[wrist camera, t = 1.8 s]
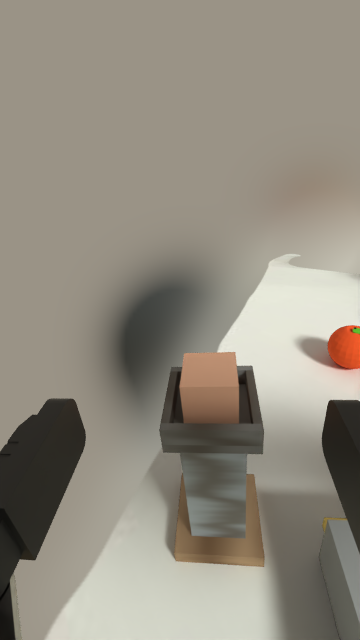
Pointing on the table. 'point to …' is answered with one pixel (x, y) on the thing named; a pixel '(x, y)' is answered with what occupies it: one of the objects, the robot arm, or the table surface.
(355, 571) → the block
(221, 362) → the cargo block
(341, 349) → the clementine
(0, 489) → the robot arm
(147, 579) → the table surface
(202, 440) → the grey pedestal column
